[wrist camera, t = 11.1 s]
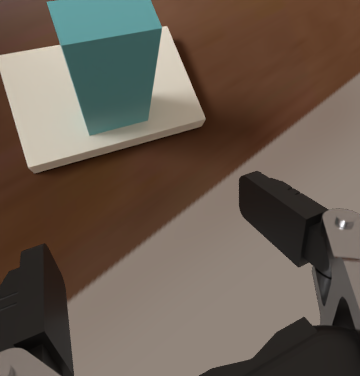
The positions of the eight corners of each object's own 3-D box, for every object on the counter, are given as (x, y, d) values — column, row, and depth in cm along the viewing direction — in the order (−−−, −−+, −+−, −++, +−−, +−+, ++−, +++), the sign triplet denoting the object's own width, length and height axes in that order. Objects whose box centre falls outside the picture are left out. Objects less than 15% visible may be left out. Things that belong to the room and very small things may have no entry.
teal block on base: (34, 173, 18) (-55, 93, 9) (3, 68, 19) (-101, -92, 10) (201, 126, 21) (255, 31, 12) (165, 38, 22) (189, -105, 13)
